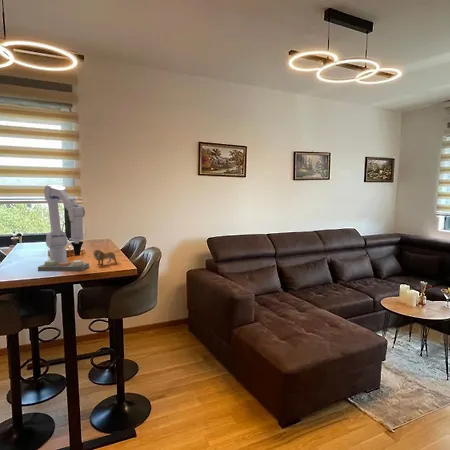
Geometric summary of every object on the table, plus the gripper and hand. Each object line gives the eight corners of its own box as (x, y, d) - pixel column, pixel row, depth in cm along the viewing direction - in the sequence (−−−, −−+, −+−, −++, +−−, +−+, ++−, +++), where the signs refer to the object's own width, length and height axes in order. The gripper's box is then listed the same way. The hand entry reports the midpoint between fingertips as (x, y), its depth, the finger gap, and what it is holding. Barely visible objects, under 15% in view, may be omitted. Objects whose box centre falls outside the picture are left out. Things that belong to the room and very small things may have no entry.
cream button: (75, 265, 179) (75, 260, 179) (83, 265, 179) (83, 260, 179) (72, 266, 175) (72, 261, 175) (80, 266, 175) (80, 261, 175)
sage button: (48, 265, 178) (48, 260, 178) (56, 265, 178) (56, 260, 178) (44, 266, 174) (44, 261, 174) (52, 266, 174) (52, 261, 174)
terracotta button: (62, 266, 178) (61, 262, 178) (69, 266, 179) (69, 262, 178) (58, 268, 174) (58, 263, 174) (66, 268, 175) (66, 263, 174)
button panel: (47, 266, 181) (47, 263, 181) (88, 266, 182) (88, 263, 182) (38, 270, 171) (37, 266, 171) (82, 270, 172) (82, 266, 172)
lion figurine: (97, 266, 182) (97, 250, 182) (91, 265, 185) (91, 249, 185) (119, 262, 195) (119, 247, 194) (113, 261, 198) (113, 246, 197)
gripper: (69, 228, 181) (70, 253, 182) (67, 231, 167) (68, 258, 168) (83, 228, 183) (84, 253, 184) (82, 230, 170) (83, 257, 171)
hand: (77, 255), depth 176 cm, fingers closed
